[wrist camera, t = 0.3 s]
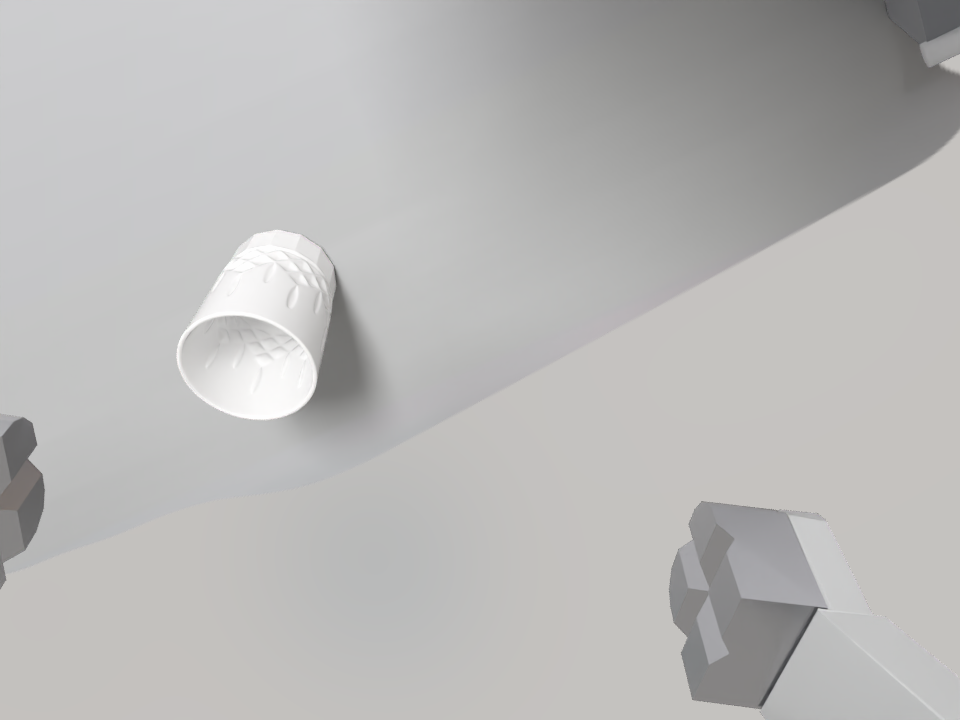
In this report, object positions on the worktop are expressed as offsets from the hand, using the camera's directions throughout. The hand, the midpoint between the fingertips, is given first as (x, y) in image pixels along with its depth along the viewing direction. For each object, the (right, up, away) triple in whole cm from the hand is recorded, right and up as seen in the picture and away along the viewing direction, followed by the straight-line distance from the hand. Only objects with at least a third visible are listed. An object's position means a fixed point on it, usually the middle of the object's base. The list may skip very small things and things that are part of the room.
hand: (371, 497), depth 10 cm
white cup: (-11, +8, +44) cm, 46 cm away
